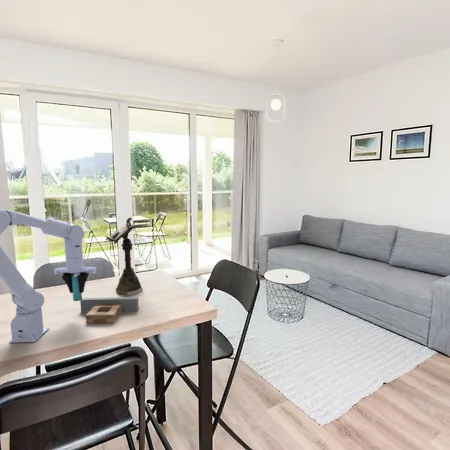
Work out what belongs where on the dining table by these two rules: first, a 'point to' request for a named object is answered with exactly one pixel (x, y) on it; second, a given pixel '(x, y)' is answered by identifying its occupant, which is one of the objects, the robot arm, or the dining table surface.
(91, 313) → the wooden square frame
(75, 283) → the dowel
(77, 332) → the dining table surface
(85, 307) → the backstop wall
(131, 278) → the dark bronze tall stand
